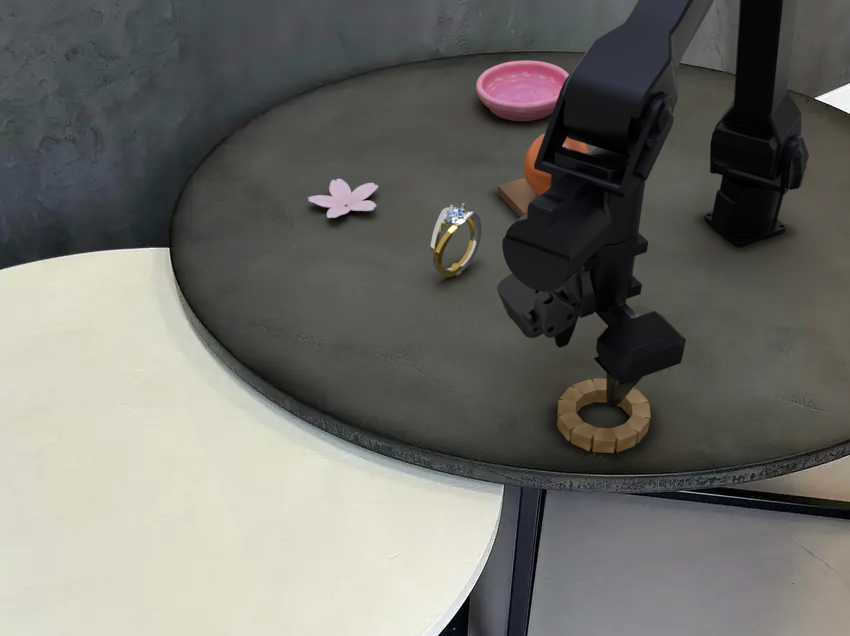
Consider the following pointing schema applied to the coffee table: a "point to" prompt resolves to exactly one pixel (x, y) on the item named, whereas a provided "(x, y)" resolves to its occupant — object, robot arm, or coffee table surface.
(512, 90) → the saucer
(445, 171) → the coffee table surface
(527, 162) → the ball stand
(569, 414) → the ring
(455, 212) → the ring
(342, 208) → the flower
